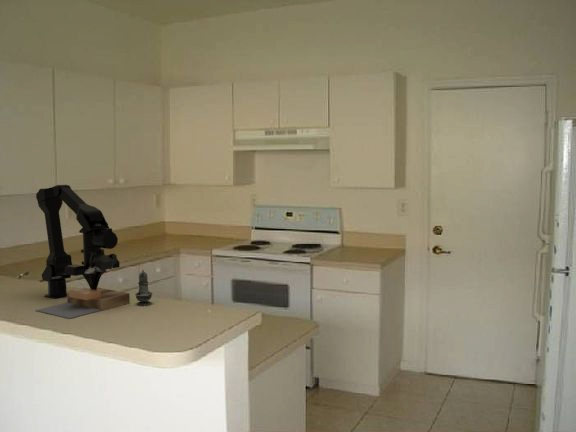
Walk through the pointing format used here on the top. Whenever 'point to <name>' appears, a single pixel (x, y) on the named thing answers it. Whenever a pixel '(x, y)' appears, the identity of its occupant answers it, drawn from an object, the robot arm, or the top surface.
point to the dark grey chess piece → (143, 290)
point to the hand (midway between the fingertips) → (94, 291)
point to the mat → (68, 310)
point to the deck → (103, 300)
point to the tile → (85, 293)
